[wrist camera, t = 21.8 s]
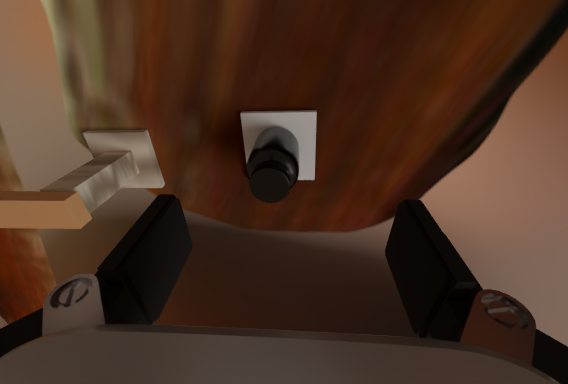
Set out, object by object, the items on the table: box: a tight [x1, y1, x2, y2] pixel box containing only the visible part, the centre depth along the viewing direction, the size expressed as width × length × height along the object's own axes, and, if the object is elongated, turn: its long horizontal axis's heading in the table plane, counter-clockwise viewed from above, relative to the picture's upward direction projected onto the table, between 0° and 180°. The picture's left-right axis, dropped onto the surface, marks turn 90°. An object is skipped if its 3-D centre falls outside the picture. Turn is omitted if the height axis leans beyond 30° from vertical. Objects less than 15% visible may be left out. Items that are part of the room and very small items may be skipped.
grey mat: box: [240, 110, 316, 180], centre depth 40 cm, size 11×11×1 cm
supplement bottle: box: [246, 127, 299, 203], centre depth 34 cm, size 7×7×12 cm
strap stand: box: [40, 130, 165, 214], centre depth 37 cm, size 10×10×14 cm
